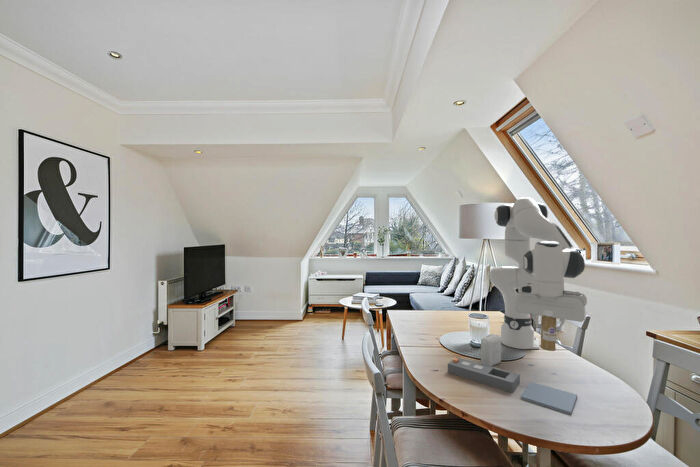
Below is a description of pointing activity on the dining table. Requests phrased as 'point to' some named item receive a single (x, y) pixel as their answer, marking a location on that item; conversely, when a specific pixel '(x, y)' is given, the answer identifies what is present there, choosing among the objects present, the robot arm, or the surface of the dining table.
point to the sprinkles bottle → (548, 331)
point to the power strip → (484, 374)
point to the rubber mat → (549, 397)
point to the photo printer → (491, 350)
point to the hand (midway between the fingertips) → (548, 329)
